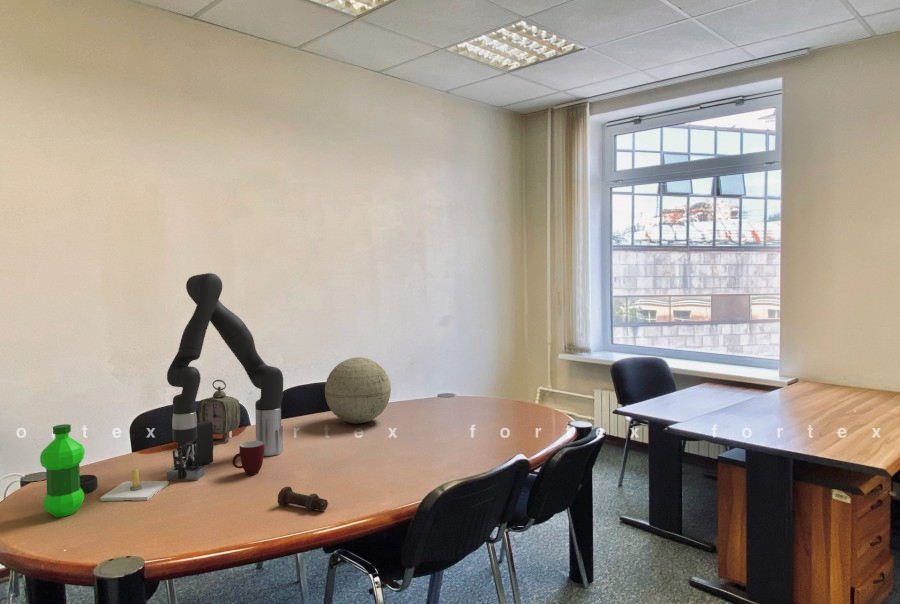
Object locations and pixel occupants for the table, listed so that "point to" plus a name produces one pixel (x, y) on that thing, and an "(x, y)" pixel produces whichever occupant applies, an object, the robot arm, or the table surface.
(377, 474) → the table surface
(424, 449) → the table surface
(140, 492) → the keeper post
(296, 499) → the bolt
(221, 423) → the tabletop clock
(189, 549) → the table surface
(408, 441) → the table surface
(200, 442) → the dark grey upright slab
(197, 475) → the steel link
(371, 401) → the concrete ball
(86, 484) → the smart speaker
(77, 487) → the plastic bottle
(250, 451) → the mug
